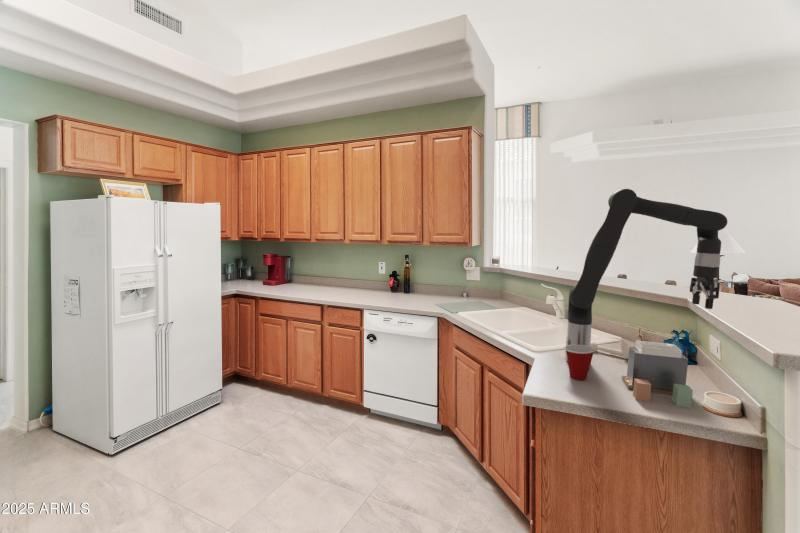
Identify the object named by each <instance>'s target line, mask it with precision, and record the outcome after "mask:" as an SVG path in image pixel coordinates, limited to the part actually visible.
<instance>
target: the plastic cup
mask: <svg viewBox="0 0 800 533" xmlns="http://www.w3.org/2000/svg"><path fill="white" fill-rule="evenodd" d="M563 347H564V348H563V349H564V350H565V353H567V358H568V362H567V365H568V369H569V371H568V372H569V377H570V378H571V379H573V380H576V381H586V380H587V378H588V375H589V372H590V368H591V363H592V360H593V356H594V353H596V352H595V349H594V348H593V347H590V346H585V345H567V346H566V345H565V346H563Z"/></svg>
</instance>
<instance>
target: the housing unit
mask: <svg viewBox="0 0 800 533" xmlns="http://www.w3.org/2000/svg"><path fill="white" fill-rule="evenodd" d="M628 347H629V356H628V359H627V370H626V375H621V380H622V382H623V383H624V385H625V386H626V389H628V390H633V388H634V379H642V380H648V381H649V383H650V384H651V393H656V394H662V395H663V394H664V395H669V396H673V385H674V384H681V385H687V375H688V364H689V358H688V357H686V356H685V355H684V354H683V350H681V349H680V348H679V347H678V346H677V345H675V344H674V343H666V342H655V341H654V342H653V341H645V340H635V345H634V346H628Z"/></svg>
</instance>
